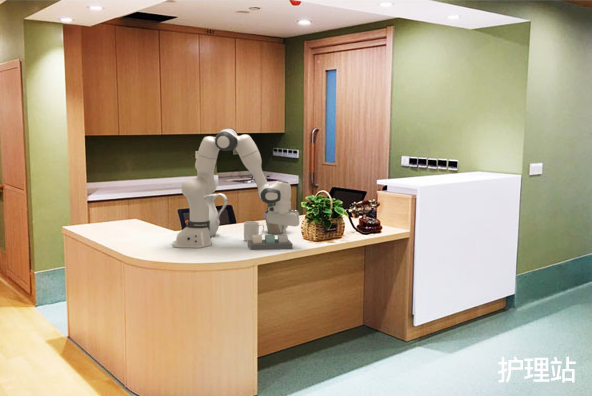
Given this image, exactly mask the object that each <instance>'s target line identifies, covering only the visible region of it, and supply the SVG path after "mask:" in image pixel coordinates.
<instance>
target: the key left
mask: <svg viewBox="0 0 592 396" xmlns="http://www.w3.org/2000/svg"><path fill="white" fill-rule="evenodd" d="M262 240H263V235H261V234H259V235H252V242H253V243H262Z"/></svg>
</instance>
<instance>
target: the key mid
mask: <svg viewBox="0 0 592 396" xmlns="http://www.w3.org/2000/svg"><path fill="white" fill-rule="evenodd" d="M275 239H276V236H275V234H264V240H265V242H266V243H275Z"/></svg>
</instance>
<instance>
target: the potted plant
mask: <svg viewBox="0 0 592 396" xmlns="http://www.w3.org/2000/svg"><path fill="white" fill-rule="evenodd" d="M264 204H265V205H263V207H265V206H266V210H265V211H264V212H263V218H264V221H265V223H266V228H267V233H268V235H278V234H284V233H283V232H280V229H279V227H278V224H272V223H268V222H267V213H268V212H269V211H268V208H269V207H272V206H275V205H276V202H275V203H270V204H267V203H264ZM282 229H284V225H282Z"/></svg>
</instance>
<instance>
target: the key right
mask: <svg viewBox="0 0 592 396" xmlns="http://www.w3.org/2000/svg"><path fill="white" fill-rule="evenodd" d="M277 239H278V242H279V243H287V242H288V240H289V236H288V235H287V234H286V233H283V234H277Z"/></svg>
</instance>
